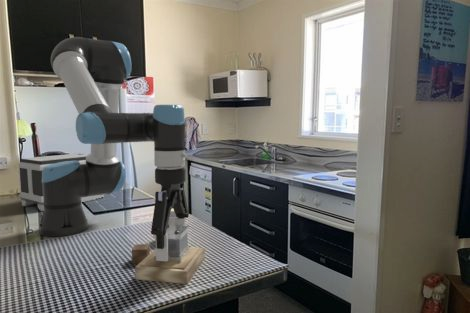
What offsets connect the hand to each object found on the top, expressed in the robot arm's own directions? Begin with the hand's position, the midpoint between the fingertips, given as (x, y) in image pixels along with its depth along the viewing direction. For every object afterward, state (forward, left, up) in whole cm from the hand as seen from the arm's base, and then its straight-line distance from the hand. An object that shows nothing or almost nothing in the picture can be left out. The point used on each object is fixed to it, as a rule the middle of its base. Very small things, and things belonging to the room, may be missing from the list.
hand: (172, 250), depth 90 cm
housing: (0, 0, -1) cm, 1 cm away
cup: (-8, +23, -5) cm, 25 cm away
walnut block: (-10, +3, -5) cm, 11 cm away
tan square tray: (0, 0, -5) cm, 5 cm away
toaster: (-74, +61, -5) cm, 96 cm away
